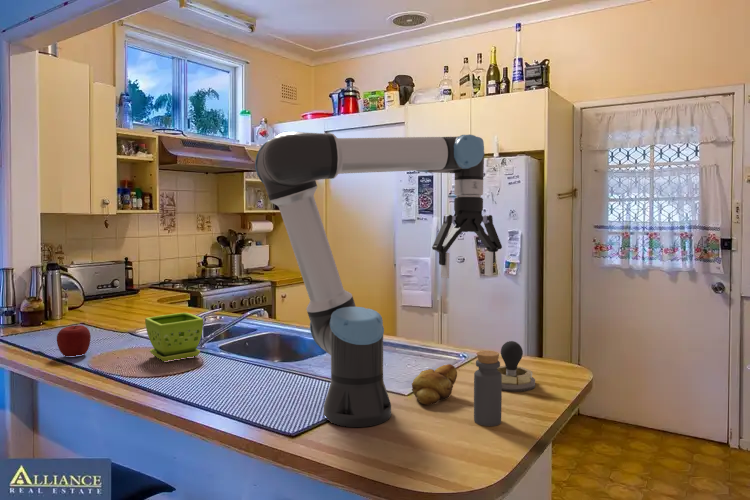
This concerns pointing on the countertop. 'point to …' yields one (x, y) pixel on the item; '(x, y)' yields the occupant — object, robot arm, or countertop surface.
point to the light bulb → (511, 356)
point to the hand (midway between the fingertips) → (467, 276)
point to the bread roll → (434, 384)
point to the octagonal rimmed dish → (517, 380)
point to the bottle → (487, 389)
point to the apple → (73, 340)
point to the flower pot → (174, 335)
